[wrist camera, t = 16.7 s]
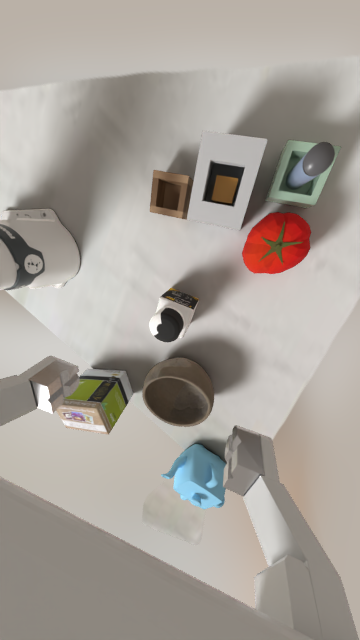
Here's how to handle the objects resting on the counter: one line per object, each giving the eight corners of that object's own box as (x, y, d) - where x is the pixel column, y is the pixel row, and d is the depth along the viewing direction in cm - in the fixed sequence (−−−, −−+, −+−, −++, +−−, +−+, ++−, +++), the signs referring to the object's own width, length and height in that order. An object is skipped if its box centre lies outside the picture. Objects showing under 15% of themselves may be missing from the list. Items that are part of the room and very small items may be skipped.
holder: (158, 213, 37) (149, 211, 33) (163, 176, 35) (153, 169, 31) (187, 219, 36) (181, 218, 33) (194, 182, 34) (188, 175, 30)
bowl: (222, 397, 53) (219, 430, 44) (166, 398, 59) (153, 427, 51) (207, 345, 47) (200, 371, 38) (146, 352, 53) (128, 376, 45)
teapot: (227, 444, 61) (224, 496, 49) (228, 474, 67) (226, 526, 55) (173, 434, 66) (159, 478, 54) (179, 463, 72) (168, 508, 61)
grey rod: (282, 187, 30) (299, 173, 21) (290, 165, 29) (311, 140, 20) (301, 190, 30) (325, 176, 21) (310, 168, 28) (340, 143, 20)
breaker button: (213, 201, 32) (211, 199, 30) (218, 178, 30) (216, 174, 28) (231, 205, 31) (231, 203, 29) (238, 182, 30) (238, 178, 28)
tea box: (97, 390, 67) (64, 428, 54) (87, 367, 63) (49, 402, 50) (134, 394, 62) (108, 436, 50) (126, 369, 59) (95, 408, 46)
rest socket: (265, 200, 32) (268, 197, 29) (282, 150, 29) (288, 139, 25) (306, 208, 31) (314, 205, 28) (328, 157, 28) (341, 146, 24)
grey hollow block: (197, 221, 36) (186, 219, 28) (211, 155, 31) (202, 130, 24) (239, 230, 35) (239, 230, 27) (260, 162, 30) (267, 138, 22)
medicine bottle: (199, 298, 42) (187, 320, 32) (189, 324, 46) (175, 352, 35) (170, 287, 43) (149, 305, 33) (163, 313, 47) (141, 337, 36)
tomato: (314, 240, 33) (336, 243, 25) (263, 282, 37) (269, 294, 30) (278, 199, 32) (290, 190, 24) (231, 247, 36) (229, 252, 29)
